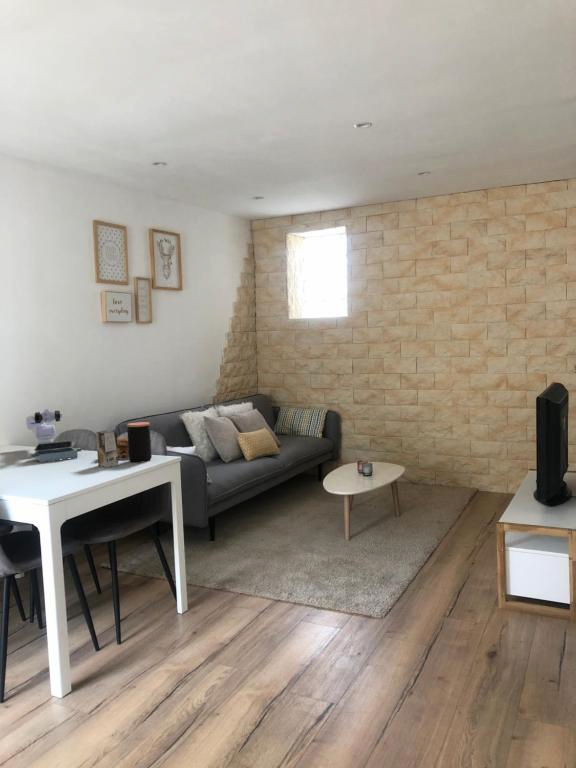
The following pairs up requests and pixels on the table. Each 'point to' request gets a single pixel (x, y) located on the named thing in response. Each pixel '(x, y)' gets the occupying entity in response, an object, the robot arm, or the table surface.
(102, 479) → the table surface
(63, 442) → the cabinet door
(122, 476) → the table surface
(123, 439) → the bread
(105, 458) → the coffee box
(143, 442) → the coffee jar
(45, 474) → the table surface
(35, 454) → the grey slotted box
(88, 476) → the table surface
